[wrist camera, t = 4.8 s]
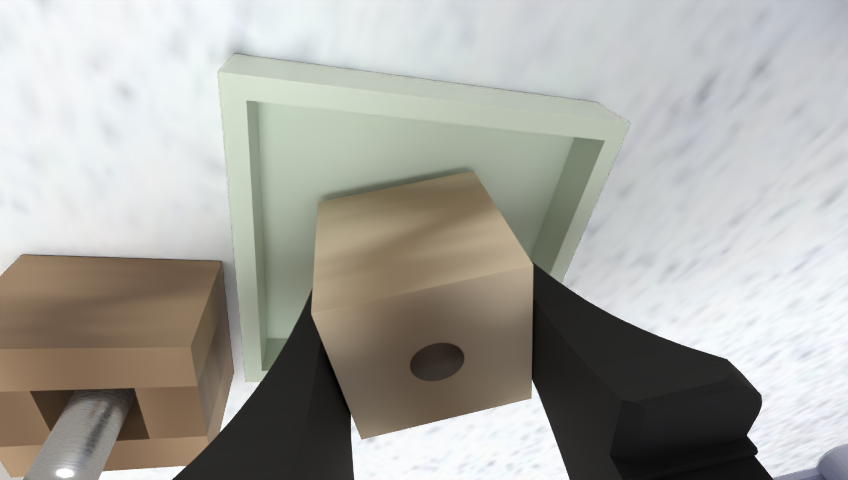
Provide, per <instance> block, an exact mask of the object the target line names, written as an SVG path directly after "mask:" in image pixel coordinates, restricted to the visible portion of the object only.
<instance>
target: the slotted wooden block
mask: <svg viewBox="0 0 848 480" xmlns="http://www.w3.org/2000/svg"><path fill="white" fill-rule="evenodd" d="M233 374H234V370H233V361H232V352H231V343H230V334H229V325H228V316H227V307H226V298H225V289H224V280H223V270H222V261H196V260H165V259H134V258H103V257H71V256H40V255H21V256H20V257H19V258H18V259H17V260H16V261H15V262H14V263H13V264H12V265H11V266H10V267H9V268H8V269H7V270H6V271H5V272H4V273H3V274H2V275H1V276H0V461H1V463H2V464H3V466H4V467H5V469H6V470H7V472H8V473H9V475H10V476H11V477H21V476H25V475H26V474H27V472H28V470H29V468H30V467H31V465H32V463H33V462H34V460H35V458H36V456H37V455H38V453H39V451H40V450H41V448H42V446H43V444H44V443H45V441H46V439H47V438H48V436H49V434H50V433H51V431H52V429H53V427H54V426H55V424H56V422H57V421H58V419H59V417H60V415H61V414H62V412H63V410H64V409H65V407H66V405H67V403H68V402H69V400H70V398H71V397H72V395H73V393H74V391H75V390H80V389H115V388H134V389H135V392H136V396H135V398H134V400H133V403H132V405H131V407H130V409H129V412H128V414H127V416H126V418H125V421H124V423H123V425H122V427H121V430H120V432H119V434H118V436H117V439H116V441H115V443H114V445H113V448H112V450H111V452H110V454H109V457H108V459H107V461H106V463H105V466H104V468H103V470H102V471H113V470H128V469H143V468H158V467H174V466H187V465H188V464H190V463H191V462H192V461H193V460H194V459H195V458H196V457H197V456H198V455H199V454H200V453H201V452H202V451H203V450H204V449H205V448H206V447H207V446H208V445H209V444H210V443H211V442H212V441H213V440H214V439H215V437H216V436H217V435H218V434H219V432H220V428H221V424H222V420H223V416H224V411H225V407H226V403H227V399H228V395H229V391H230V386H231V382H232V378H233Z"/></svg>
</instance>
